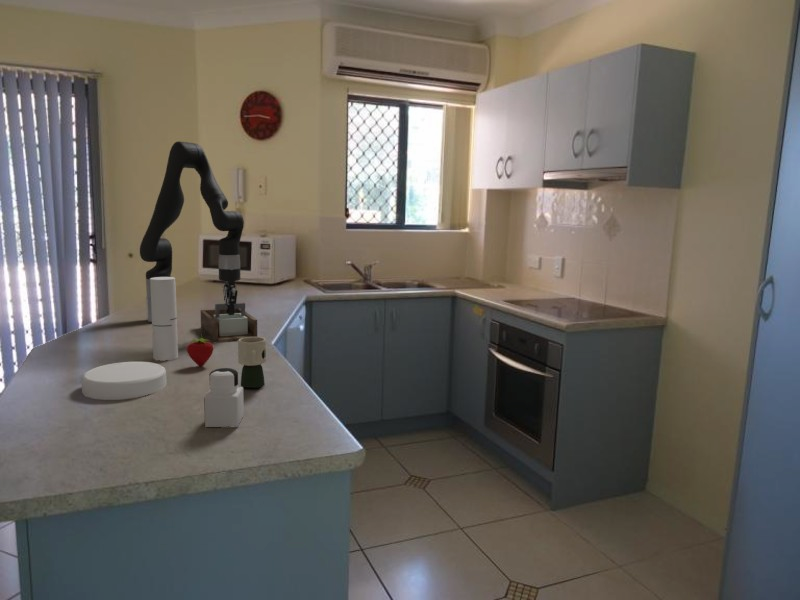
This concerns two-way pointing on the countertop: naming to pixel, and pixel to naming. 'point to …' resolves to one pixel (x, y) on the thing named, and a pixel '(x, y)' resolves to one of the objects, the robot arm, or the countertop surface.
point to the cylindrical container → (164, 318)
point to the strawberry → (200, 351)
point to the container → (123, 380)
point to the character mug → (252, 360)
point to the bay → (212, 326)
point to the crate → (231, 320)
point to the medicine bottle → (223, 399)
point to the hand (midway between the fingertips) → (230, 314)
